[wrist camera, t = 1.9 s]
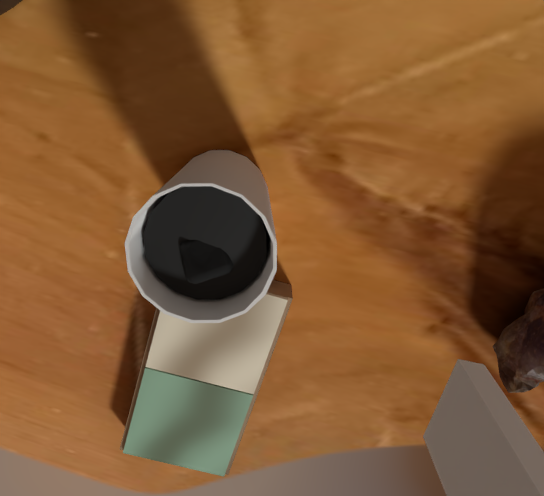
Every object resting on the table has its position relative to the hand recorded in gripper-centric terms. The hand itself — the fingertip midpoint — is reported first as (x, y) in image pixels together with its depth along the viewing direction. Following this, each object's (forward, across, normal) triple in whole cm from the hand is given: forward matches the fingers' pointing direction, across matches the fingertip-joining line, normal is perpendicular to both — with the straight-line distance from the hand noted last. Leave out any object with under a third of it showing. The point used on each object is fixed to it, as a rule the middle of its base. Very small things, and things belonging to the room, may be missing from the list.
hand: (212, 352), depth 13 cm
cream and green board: (+19, 0, -13) cm, 23 cm away
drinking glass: (+19, -1, -1) cm, 19 cm away
